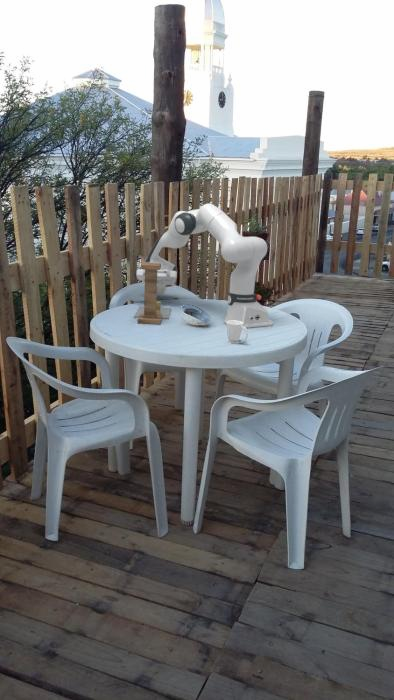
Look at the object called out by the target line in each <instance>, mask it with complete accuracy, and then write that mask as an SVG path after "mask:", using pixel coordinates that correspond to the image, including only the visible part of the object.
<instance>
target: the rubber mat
mask: <svg viewBox="0 0 394 700" xmlns="http://www.w3.org/2000/svg"><path fill="white" fill-rule="evenodd" d="M171 308H172V307H161V309H160V315H162V320H169V319H170V315H171V313H170V312H172V309H171ZM140 314H144V306H143V305H141V306H138V309H137V310H136V311H135V314H134V316H133V318H135V319H138V318H139V316H140Z"/></svg>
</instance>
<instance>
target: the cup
mask: <svg viewBox="0 0 394 700" xmlns="http://www.w3.org/2000/svg"><path fill="white" fill-rule="evenodd" d="M225 326H226V334H227V339H228V343H231V344H240V343H243V342H245V341H246V340H247V339H248V337H249V333H248V328H245V327H243V322H241V321H235V320H232V321H227V322H226V323H225ZM243 329H244V331H245V338H244V339H243V340H241V341H239V340H240V338H241V335H242V332H243Z"/></svg>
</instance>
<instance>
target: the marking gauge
mask: <svg viewBox="0 0 394 700" xmlns="http://www.w3.org/2000/svg"><path fill="white" fill-rule="evenodd" d="M161 303H162V302H161V301H158V300H157V305H156V315H160V309H161Z"/></svg>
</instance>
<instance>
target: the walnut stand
mask: <svg viewBox="0 0 394 700" xmlns="http://www.w3.org/2000/svg"><path fill="white" fill-rule="evenodd" d="M140 269H145V281H144V299H143V300H144V306H143V307H144V314H140V316H139V318H137V324H139V325H141V324H142V325H158V326H159V325H160V326H161V323H162V320H163V319H162V315H156V305H157V301H158V299H157V297H158V295H157V270H160V269H161V263H151V262H144V261H143V262H142V263H141V265H140Z"/></svg>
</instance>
